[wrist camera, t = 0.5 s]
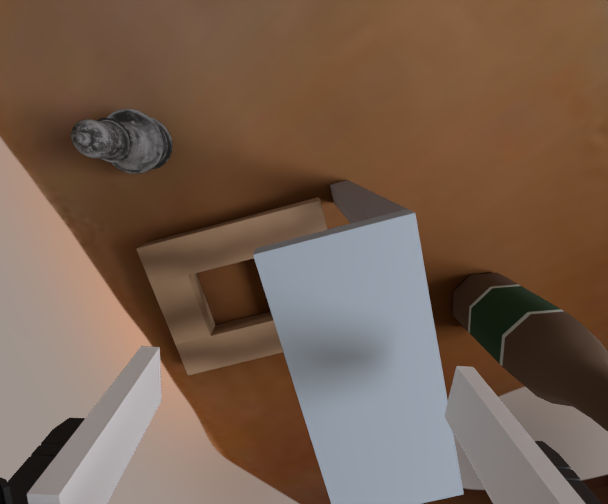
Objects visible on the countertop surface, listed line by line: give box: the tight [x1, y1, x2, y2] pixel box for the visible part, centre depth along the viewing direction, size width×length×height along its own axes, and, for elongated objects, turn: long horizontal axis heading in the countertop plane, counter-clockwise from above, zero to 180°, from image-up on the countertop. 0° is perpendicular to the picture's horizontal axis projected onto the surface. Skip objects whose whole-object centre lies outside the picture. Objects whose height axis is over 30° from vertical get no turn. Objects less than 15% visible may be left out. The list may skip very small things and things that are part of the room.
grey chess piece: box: [71, 109, 172, 174], centre depth 30 cm, size 6×6×12 cm
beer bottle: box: [453, 273, 608, 431], centre depth 30 cm, size 8×8×24 cm
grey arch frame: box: [253, 180, 464, 504], centre depth 30 cm, size 18×8×22 cm, turn 15°
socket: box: [136, 197, 327, 375], centre depth 39 cm, size 16×20×3 cm
